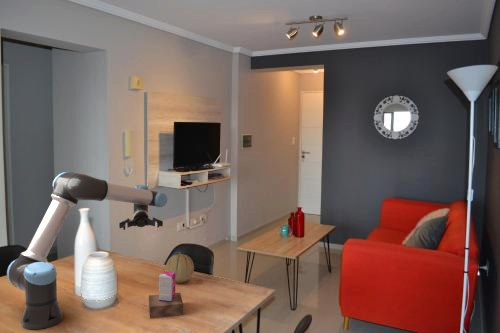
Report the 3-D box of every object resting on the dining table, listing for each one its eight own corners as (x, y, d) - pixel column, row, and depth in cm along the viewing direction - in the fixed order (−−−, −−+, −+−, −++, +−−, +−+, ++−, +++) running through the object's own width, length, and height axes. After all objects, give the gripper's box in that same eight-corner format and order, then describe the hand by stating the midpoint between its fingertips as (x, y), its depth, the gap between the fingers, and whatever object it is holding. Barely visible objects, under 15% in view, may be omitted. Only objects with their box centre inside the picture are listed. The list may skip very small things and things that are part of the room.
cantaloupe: (173, 289, 208) (173, 260, 206) (160, 280, 219) (160, 252, 218) (199, 283, 216) (199, 254, 215) (186, 274, 228) (186, 247, 227)
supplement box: (171, 302, 182) (171, 276, 180) (158, 301, 183) (158, 275, 181) (176, 296, 187) (175, 271, 186) (163, 295, 188) (163, 271, 187)
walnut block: (149, 318, 177) (149, 307, 177) (148, 306, 189) (148, 295, 188) (183, 314, 181) (183, 303, 181) (180, 303, 193) (180, 292, 192)
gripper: (165, 224, 219) (168, 235, 199) (115, 226, 213) (113, 237, 192) (165, 210, 218) (168, 219, 198) (115, 212, 212) (113, 221, 192)
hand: (141, 228), depth 195 cm, fingers open, 13 cm apart
